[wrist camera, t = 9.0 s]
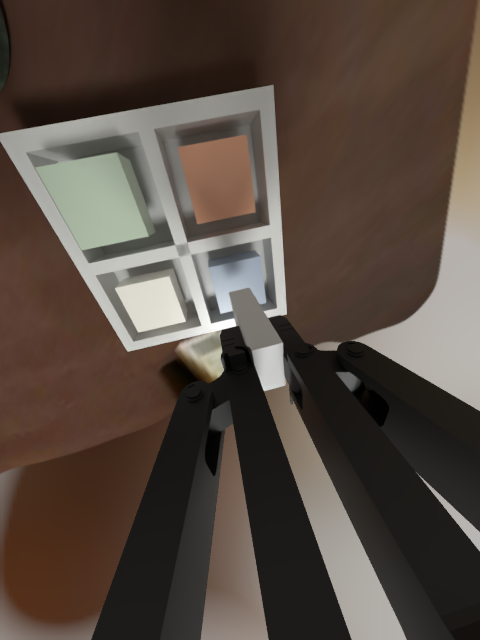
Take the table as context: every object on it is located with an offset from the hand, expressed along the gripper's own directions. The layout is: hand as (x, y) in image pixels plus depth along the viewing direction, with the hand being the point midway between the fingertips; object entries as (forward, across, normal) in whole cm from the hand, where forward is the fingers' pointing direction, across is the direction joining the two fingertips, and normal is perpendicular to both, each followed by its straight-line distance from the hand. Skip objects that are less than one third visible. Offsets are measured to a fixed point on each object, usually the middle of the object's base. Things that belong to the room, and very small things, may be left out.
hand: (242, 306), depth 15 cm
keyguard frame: (+8, -3, +4) cm, 10 cm away
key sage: (+6, -7, +8) cm, 12 cm away
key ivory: (+8, -7, 0) cm, 11 cm away
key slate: (+7, +1, 0) cm, 7 cm away
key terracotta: (+8, +1, +8) cm, 11 cm away
